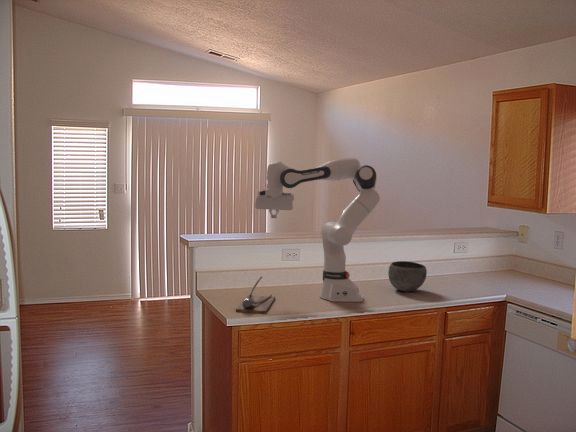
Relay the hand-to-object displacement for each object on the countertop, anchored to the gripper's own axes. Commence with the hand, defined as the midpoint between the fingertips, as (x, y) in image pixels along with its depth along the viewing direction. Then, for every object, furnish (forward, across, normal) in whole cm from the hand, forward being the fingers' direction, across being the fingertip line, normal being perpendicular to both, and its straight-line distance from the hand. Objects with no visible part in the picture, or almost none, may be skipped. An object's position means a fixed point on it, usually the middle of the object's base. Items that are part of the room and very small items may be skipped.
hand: (273, 218), depth 310 cm
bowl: (+39, -73, -16) cm, 85 cm away
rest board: (+39, +2, +35) cm, 53 cm away
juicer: (+33, +2, +20) cm, 38 cm away
